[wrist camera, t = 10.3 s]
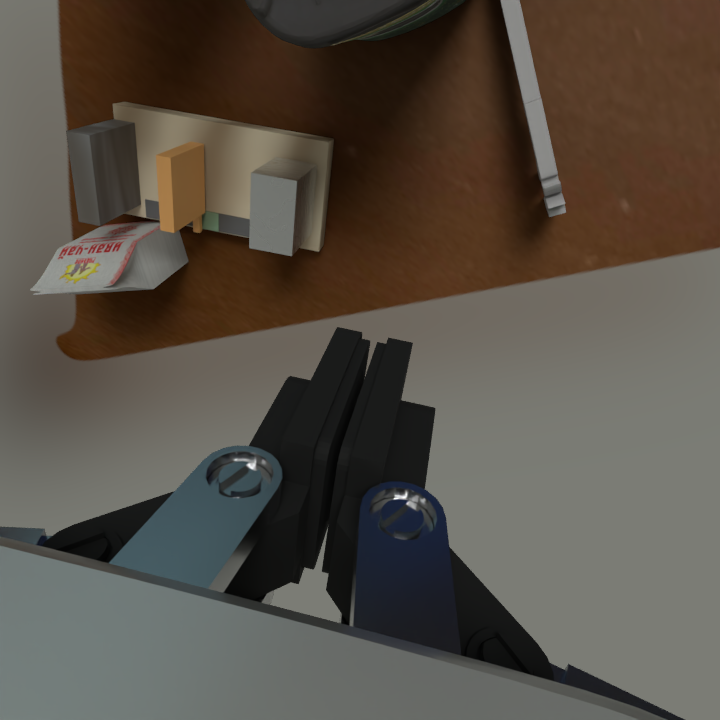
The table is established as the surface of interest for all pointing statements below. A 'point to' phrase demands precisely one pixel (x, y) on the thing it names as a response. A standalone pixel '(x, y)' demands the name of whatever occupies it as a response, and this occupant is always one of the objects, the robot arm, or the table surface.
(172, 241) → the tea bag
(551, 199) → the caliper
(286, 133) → the board
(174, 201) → the orange rectangular slab
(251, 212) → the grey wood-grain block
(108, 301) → the table surface
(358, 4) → the coffee jar
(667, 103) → the table surface
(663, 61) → the table surface
